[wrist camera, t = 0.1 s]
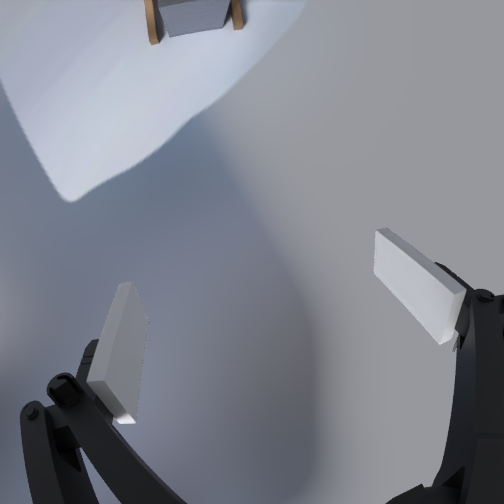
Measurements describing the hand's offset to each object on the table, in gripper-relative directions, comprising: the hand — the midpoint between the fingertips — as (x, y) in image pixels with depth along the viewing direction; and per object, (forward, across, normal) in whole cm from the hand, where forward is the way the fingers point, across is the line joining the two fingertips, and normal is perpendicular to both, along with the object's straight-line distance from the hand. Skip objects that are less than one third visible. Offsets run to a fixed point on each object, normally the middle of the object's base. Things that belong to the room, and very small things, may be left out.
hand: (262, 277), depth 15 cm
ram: (+28, 0, +22) cm, 36 cm away
